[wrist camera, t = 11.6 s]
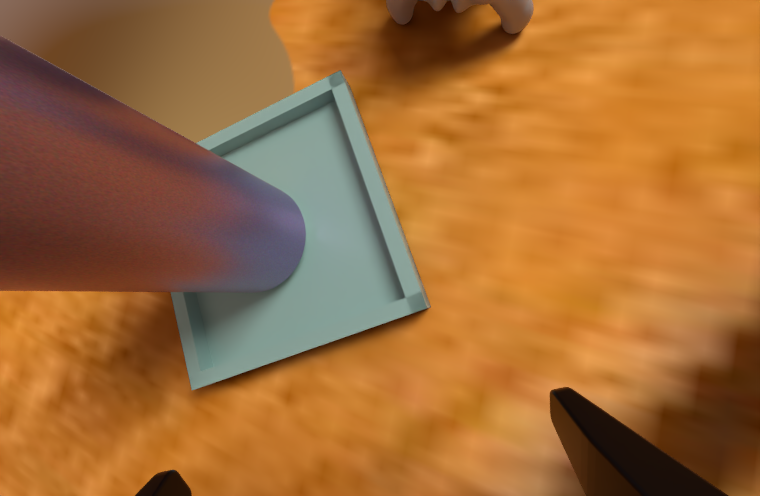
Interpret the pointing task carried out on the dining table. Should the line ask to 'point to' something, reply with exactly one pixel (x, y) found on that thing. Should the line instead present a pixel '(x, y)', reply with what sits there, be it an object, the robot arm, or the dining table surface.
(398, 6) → the gray elephant figurine
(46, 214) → the beverage can
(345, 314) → the tray
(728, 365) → the dining table surface
